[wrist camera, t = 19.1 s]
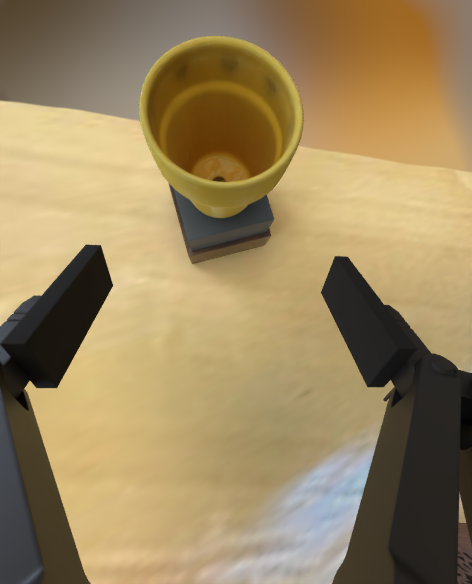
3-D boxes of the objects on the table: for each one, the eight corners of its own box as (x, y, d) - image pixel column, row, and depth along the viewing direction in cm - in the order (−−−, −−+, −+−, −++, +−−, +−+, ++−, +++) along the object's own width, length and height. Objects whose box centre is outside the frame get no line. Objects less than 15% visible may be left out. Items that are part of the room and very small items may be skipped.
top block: (245, 162, 30) (250, 138, 26) (266, 232, 29) (274, 219, 25) (171, 178, 29) (165, 156, 25) (192, 251, 28) (188, 240, 24)
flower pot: (219, 259, 24) (222, 221, 14) (145, 185, 24) (100, 97, 15) (290, 191, 26) (337, 116, 16) (220, 121, 26) (224, 3, 16)
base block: (243, 176, 34) (247, 157, 30) (264, 245, 33) (271, 235, 29) (172, 192, 33) (166, 175, 29) (192, 263, 32) (188, 256, 28)
